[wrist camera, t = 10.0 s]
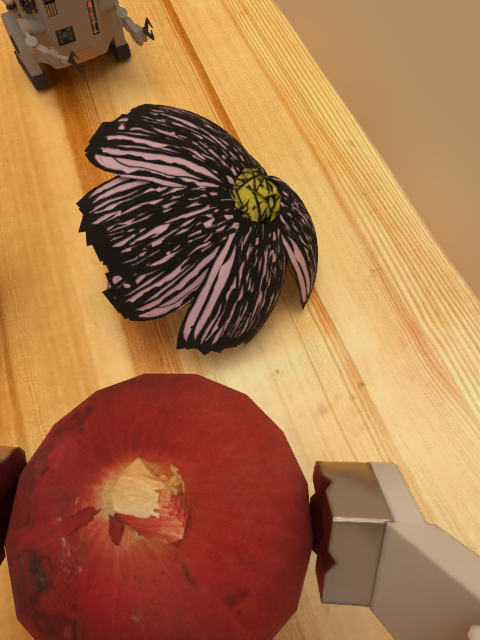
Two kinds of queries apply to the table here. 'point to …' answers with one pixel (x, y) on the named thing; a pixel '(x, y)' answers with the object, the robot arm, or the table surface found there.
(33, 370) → the table surface
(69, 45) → the figurine
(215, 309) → the decorative flower
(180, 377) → the onion
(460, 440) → the table surface
